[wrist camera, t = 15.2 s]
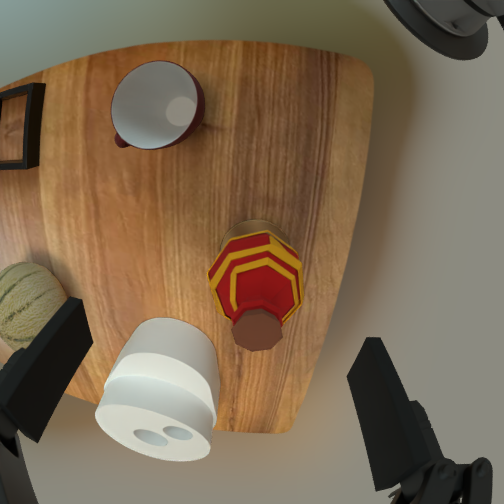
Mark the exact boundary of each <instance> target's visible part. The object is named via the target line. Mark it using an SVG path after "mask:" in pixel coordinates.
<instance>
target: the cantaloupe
mask: <svg viewBox="0 0 504 504" xmlns="http://www.w3.org/2000/svg"><path fill="white" fill-rule="evenodd" d="M66 300H67V297H66V294H65V291H64V289H63V288H62V286H61V284H60V283H59V281H58V280H57V278H56V277H55V276H54V275H53V274H52V273H51V272H50V271H49V270H48V269H47V268H45V267H44V266H41V265H38V264H35V263H31V262H19V263H16V264H12V265H10V266H8V267H7V268H5V269H4V270H2V271H1V273H0V337H1V338H2V339H3V340H4V342H5V343H6V344H7V345H8V346H10V347H11V348H12V349H13V350H15V351H17V350H19V349H20V348H22V347H23V348H25V349H26V348H27V347H28V346H29V344H30V343H31V342H32V341H33V339H34V338H35V337H36V336H37V334H38V333H39V332H40V331H41V329H42V328H43V327H44V326H45V325H46V323H47V322H48V321H49V320H50V319H51V317H52V316H53V315H54V314H55V313H56V312H57V310H58V309H59V308H60V307H61V306H62V305H63V304H64V303H65V301H66Z"/></svg>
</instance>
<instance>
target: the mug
mask: <svg viewBox="0 0 504 504" xmlns="http://www.w3.org/2000/svg"><path fill="white" fill-rule="evenodd" d="M204 112H205V100H204V94H203V90H202V88H201V86H200V84H199V82H198V81H197V79H196V78H195V77H194V76H193V75H192V74H191V73H190V72H189V71H187V70H186V69H185V68H183V67H182V66H180V65H178V64H176V63H173V62H169V61H151V62H147V63H145V64H142V65H140V66H138V67H136V68H135V69H133V70H132V71H130V72H129V73H128V74H127V75H126V76H125V77H124V78H123V79H122V81H121V82H120V83H119V85H118V87H117V88H116V90H115V93H114V95H113V99H112V103H111V118H112V123H113V126H114V128H115V130H116V132H117V133H116V135H115V143H116V144H117V146H119V147H120V148H125V147H128V146H133V147H136V148H139V149H144V150H155V149H162V148H167V147H170V146H173V145H176V144H178V143H180V142H181V141H183V140H185V139H186V138H187V137H188V136H190V135H191V134H192V133H193V132H194V131H195V129H196V128H197V127H198V126H199V124H200V123H201V121H202V119H203V116H204Z"/></svg>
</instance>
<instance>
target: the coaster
mask: <svg viewBox="0 0 504 504" xmlns="http://www.w3.org/2000/svg"><path fill="white" fill-rule="evenodd" d="M265 230H269V231H270V232H271V233H273V234H274V235H276V236H277V237H278V238H280V239H281V240H282V241H284V242H285V243H286V244H288V245H289V246H290V243H289V240H288V238H287V236H286V235H285V233H284V232H283V231H282V230H281V229H280V228H279V227H278V226H276V225H275V224H273V223H271V222H268V221H265V220H259V219H251V220H246V221H243V222H240V223H238V224H236V225H235V226H233V227H232V228H231V229H230V230H229V231H228V232H227V233H226V235H225V236H224V238H223V240H222V243H221V247H220V252H221V251H222V249H223V248H224V246H225V245H226V243H227V242H228V240H229V239H231V238H233V237H237V236H242V235H246V234H251V233H256V232H260V231H265ZM264 233H267V234H269V235H270V236H272V237H273V238H275V239H276V240H278V241H279V242H281V241H280V240H279V239H277V238H276V237H275V236H273V235H272V234H270V233H269V232H264ZM260 234H261V233H260ZM281 243H282V242H281ZM282 244H284V243H282ZM284 245H285V244H284ZM285 246H286V245H285ZM287 247H288V246H287Z"/></svg>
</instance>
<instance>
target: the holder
mask: <svg viewBox="0 0 504 504" xmlns="http://www.w3.org/2000/svg"><path fill="white" fill-rule="evenodd" d="M45 87H46V84H45V83H30V84H26V85H23V86H19V87H16V88H13V89H9V90H6V91H3V92H0V118H1V108H2V101H3V100H6V99H10V98H13V97H17V96H21V95H25V94H28V96H27V103H26V111H25V122H24V136H23V160H7V161H0V170H14V169H29V168H33V167H36V166H39V146H40V129H41V117H42V108H43V100H44V93H45Z"/></svg>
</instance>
